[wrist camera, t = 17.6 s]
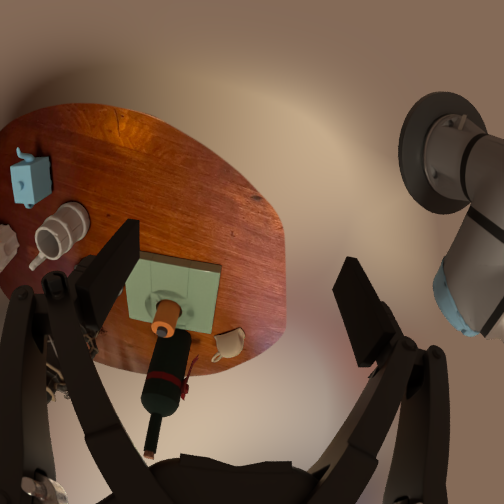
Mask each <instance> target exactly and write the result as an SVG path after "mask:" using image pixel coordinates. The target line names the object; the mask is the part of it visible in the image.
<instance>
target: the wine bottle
mask: <svg viewBox="0 0 504 504" xmlns="http://www.w3.org/2000/svg"><path fill="white" fill-rule="evenodd" d="M191 341H192V339H191V336H190V334H189V333H188V332H187V331H186V330H185V329H179V328H175V331H174V334H173V335H172V336H171V337H160V336H158V338H157V342H156V345H155V348H154V352H153V355H152V359H151V362H150V366H149V369H148V373H147V377H146V380H145V384H144V388H143V392H142V395H141V402H142V404H143V406H144V408H145V409H146V410H147V411H148V412H149V413H150V414H151V417H150V421H149V426H148V431H147V436H146V441H145V446H144V451H145V452H144V457H145V458H149V459H154V454H155V453H156V449H157V443H158V437H159V432H160V426H161V421H162V417H167V416H170V415H172V414H173V413H174V412H175V411H176V410H177V408H178V406H179V402H180V397H181V398H182V399H183V400H184V398H185V394H187V393H188V390H189V385H188V384H187V382H188V378H189V375H190V372H191V369H192V366H193V364H194V363H195V362H196V361H197V360H198V358H197V357H198V356H197V357H196V358H195V359H194V360H193V361H192V364H191V367H190V369H189V372H188V375H187V377H186V378H185V379H184V375H185V370H186V365H187V360H188V355H189V350H190V346H191ZM198 355H199V354H198Z"/></svg>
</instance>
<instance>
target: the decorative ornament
mask: <svg viewBox="0 0 504 504" xmlns="http://www.w3.org/2000/svg"><path fill="white" fill-rule="evenodd" d="M214 338H215V339H216V343H217V349H218V352H217V353H216V354H215V355H214V356H213V358H212V362H217V361H218V360H220V359H221V358H222V357H226V358H232V357H235V356H236V355H238V354H239V353H240V352H241V350H242V349H243V346H244V338H245V334H244V332H243V331H242V329H241V328H238V329H236V330H234V331H232V332H229V333H226V334H223V335H217V336H214ZM219 354H220V356H219V357H218V358H217V359H216V360H214V359H215V358H216V357H217V356H218V355H219Z"/></svg>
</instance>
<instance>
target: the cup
mask: <svg viewBox="0 0 504 504" xmlns="http://www.w3.org/2000/svg"><path fill="white" fill-rule="evenodd" d="M19 246H20V245H19V243H18V241H17V238H16V233H15V232H14V231H13V230H12V229H11V228H10V226H9V224H8V225H7V226H6V225H2V224H1V225H0V273H1V271H2V270H3V269H4V268H5V266H6V265H7V264H8V263H9V262H10V260H11V259H12V258H13V257H14V256H15V255H16V253H17V248H18V247H19Z"/></svg>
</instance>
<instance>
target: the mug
mask: <svg viewBox="0 0 504 504" xmlns="http://www.w3.org/2000/svg"><path fill="white" fill-rule="evenodd" d="M88 217H89V215H88V213H87V211H86V210H85V208H84V207H83V206H82V205H80V204H79V203H77V202H69V203H65V204H63V205H62V206H60V207H59V209H58V210H57V212H56V213H55V214H54V215H51V216H50V217H48V218H47V219H46V220H45V221H44V223H43V224H42V225H41V226H40V227H39V228H38V230H37V231H36V234H35V241H36V244H37V247H38V249H39V251H40V253H39V254H38V256H37V257H36V258H35V259H34V260H33V261H32V262H31V264H30V265H29V268H30V269H31V270H32V271H33V270H34V269H35V268H36V267H37V266H38V265H39V264H41V263H42V262H43V261H44V260H45V259H46V258H48V259H51V260H57V259H58V258H60V257H61V256H62V255H63V254H64V253H66V252H68V251H69V250H70V249H71V247H72V246H73V244H74V243H75V242H76V241H79V240H81V239H82V238H83V237H84V236H85V235H86V233H87V231H88V229H89V226H90V220H89V218H88Z"/></svg>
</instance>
